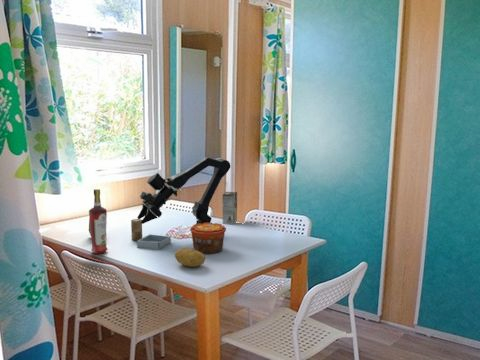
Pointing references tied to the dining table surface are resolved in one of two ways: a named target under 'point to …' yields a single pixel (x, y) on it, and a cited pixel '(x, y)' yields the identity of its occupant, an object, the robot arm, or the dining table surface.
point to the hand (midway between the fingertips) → (139, 220)
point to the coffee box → (229, 207)
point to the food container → (208, 237)
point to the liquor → (98, 225)
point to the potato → (189, 257)
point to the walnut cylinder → (136, 229)
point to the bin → (154, 242)
